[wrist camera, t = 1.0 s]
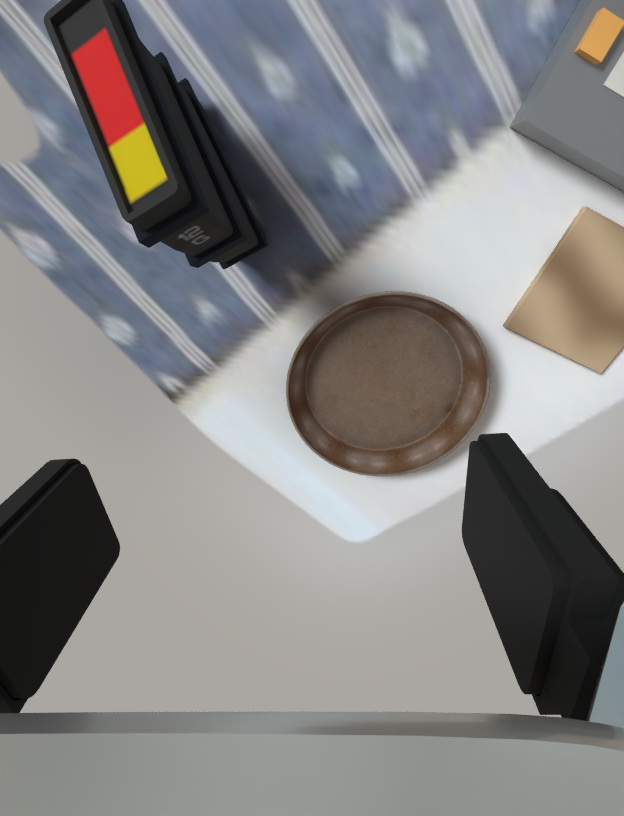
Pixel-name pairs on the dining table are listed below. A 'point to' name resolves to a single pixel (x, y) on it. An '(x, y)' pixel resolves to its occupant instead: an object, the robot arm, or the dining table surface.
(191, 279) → the dining table surface
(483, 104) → the dining table surface
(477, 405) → the plant saucer
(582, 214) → the cork mat
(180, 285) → the dining table surface
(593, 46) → the grey panel with buttons
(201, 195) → the magazine
